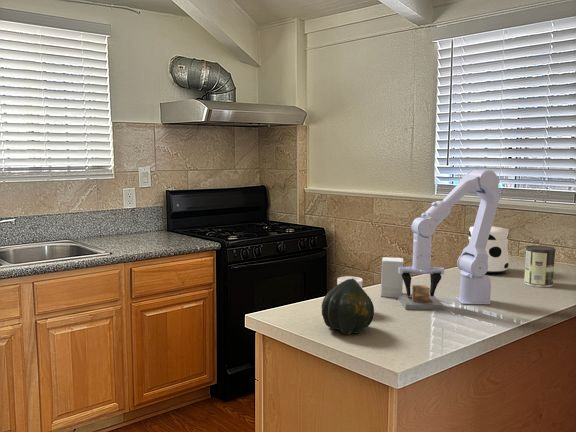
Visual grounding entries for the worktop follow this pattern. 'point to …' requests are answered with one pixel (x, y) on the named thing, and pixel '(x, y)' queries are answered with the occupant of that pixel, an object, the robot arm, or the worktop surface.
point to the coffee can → (539, 266)
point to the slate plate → (410, 305)
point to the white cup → (357, 279)
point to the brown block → (420, 294)
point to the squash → (347, 308)
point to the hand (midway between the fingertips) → (420, 295)
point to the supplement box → (391, 277)
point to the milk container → (496, 249)
